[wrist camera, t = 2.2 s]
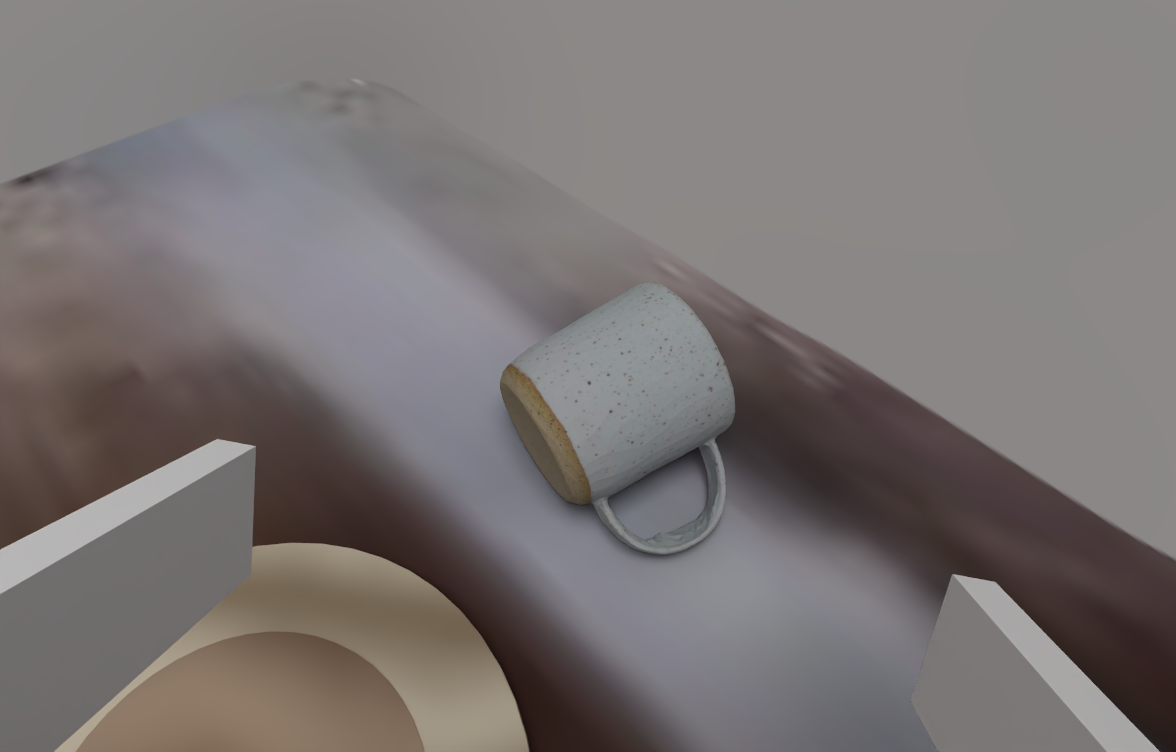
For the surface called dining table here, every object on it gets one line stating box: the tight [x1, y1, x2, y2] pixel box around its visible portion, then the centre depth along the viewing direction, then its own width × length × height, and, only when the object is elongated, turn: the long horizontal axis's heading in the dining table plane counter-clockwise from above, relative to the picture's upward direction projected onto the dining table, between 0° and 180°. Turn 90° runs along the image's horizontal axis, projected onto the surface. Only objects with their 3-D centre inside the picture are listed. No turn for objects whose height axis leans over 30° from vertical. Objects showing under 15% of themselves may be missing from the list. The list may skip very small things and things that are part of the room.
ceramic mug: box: [500, 282, 735, 555], centre depth 28 cm, size 11×8×8 cm
